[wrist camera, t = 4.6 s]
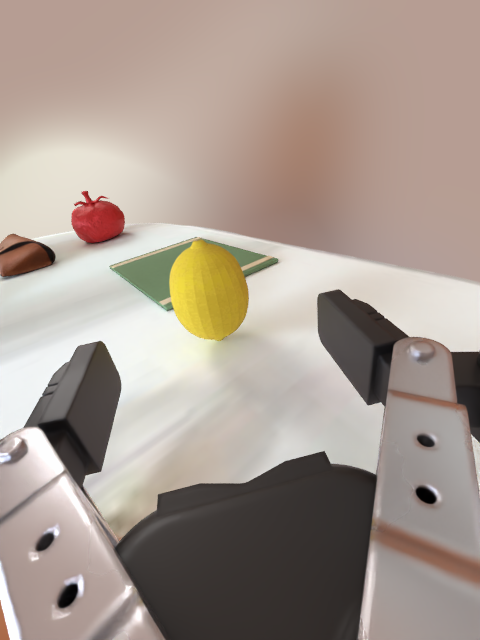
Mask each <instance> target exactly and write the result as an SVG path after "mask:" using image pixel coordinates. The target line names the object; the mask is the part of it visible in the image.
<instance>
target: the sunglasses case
mask: <svg viewBox="0 0 480 640" xmlns="http://www.w3.org/2000/svg"><path fill="white" fill-rule="evenodd" d="M54 261H55V254H54V252H53V251H52V249H50V248H49V247H48V246H46V245H44V244H42V243H40V242H36V241H34V240H31V239H28V238H24V237H20V236H18V235H16V234H10V235H8V236H7V237H6V238H5V239H4V240H3V241H2V242H1V244H0V274H1V276H2V277H6V276H13V275H18V274H23V273H28V272H31V271H34V270H37V269H40V268H43V267H46V266H49V265H51V264H52V263H53V262H54Z"/></svg>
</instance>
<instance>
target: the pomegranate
mask: <svg viewBox="0 0 480 640" xmlns="http://www.w3.org/2000/svg"><path fill="white" fill-rule="evenodd" d="M82 194H83V195H84V197H85V198H86V203H85V202H81V201H80V202H77V203H76V204H74V205H75V206H76V205H78V204H83V206H80V207H77V208H76V209H74V211H73V213H72V226H73V229H74V230H75V232H76V234H77V235H78V237H79V238H80V239H82V240H84V241H85V242H88V243H95V242H102V241H105V240H108V239H111V238H113V237H115V236H117V235H119V234H120V233H121V232H122V231H123V229H124V224H125V221H124V214H123V212H122V211H121V210H120V209H119V208H118V206H116V205H114V204H112V203H110V202H107V201H99V199H100V198H106V197H104V196H100V197H98V198H97V199H96V200H95V201H92V200H91V198H90V197H89V195H88V191H83V192H82Z"/></svg>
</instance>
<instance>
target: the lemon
mask: <svg viewBox="0 0 480 640" xmlns="http://www.w3.org/2000/svg"><path fill="white" fill-rule="evenodd" d="M169 284H170V296H171V302H172V306H173V309H174V311H175V314H176V316H177V318H178V319H179V321H180V322H181V324H182V325H183V326H184V327H185V328H186V329H187V330H188V331H189V332H190V333H192V334H194V335H195V336H197V337H200V338H203V339H211V340H213V339H215V340H217V341H221V340H223V339H224V338H225V337H226V336H228V335H230V334H232V333H233V332H234V331H236V330H237V329H238V328H239V326H240V325H241V323H242V322H243V320H244V318H245V316H246V313H247V308H248V299H249V297H248V288H247V283H246V280H245V277H244V274H243V272H242V269H241V267H240V265H239V263H238V261H237V260H236V258H235V257H234V256H233V255H232V254H231V253H230V252H228V251H227V250H225V249H224V248H222V247H220V246H218V245H214V244H209V243H206V242H205V241H204V240H201V239H200V240H195V241H193V243H192V245H191V247H189V248H187V249H186V250H184V251H183V252H182V253H181V254H180V255H179V256H178V258H177V259H176V260H175V262H174V264H173V266H172V269H171V272H170V281H169Z"/></svg>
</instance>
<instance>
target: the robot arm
mask: <svg viewBox="0 0 480 640" xmlns="http://www.w3.org/2000/svg"><path fill="white" fill-rule="evenodd" d="M317 305H318V333H319V337H320V340H321V342H322V344H323V346H324V347H325V348H326V350H327V351H328V352H329V354H330V355H331V356H332V358H333V359H334V360H335V362H336V363H337V364H338V366H339V367H340V369H341V370H342V371H343V373H344V374H345V375H346V377H347V378H348V379H349V381H350V382H351V383H352V385H353V386H354V387H355V389H356V390H357V391H358V393H359V394H360V395H361V397H362V398H363V399H364V401H365V402H366V404H367V405H372V404H375V403H379V402H381V403H382V404H383V405H384V406H385V409H384V416H383V424H382V432H381V439H380V447H379V455H378V462H377V469H376V475H375V474H373V473H371V472H368V471H366V470H363V469H360V468H356V467H352V466H348V465H340V464H330V461H329V459H328V457H327V455H326V453H325V451H323V452H319V453H315V454H311V455H308V456H304V457H300V458H296V459H292V460H289V461H285V462H283V463H281V464H279V465H278V466H276V467H274V468H272V469H270V470H269V471H267V472H265V473H263V474H261V475H260V476H258V477H256V478H254V479H253V480H251V481H249V482H246V483H241V484H197V485H193V486H189V487H185V488H181V489H178V490H174V491H170V492H166V493H162V494H158V503H157V511H155V512H153V513H151V514H150V515H148V516H147V517H146V518H144V519H143V520H141V521H140V522H139V523H138V524H137V525H135V526H134V527H133V528H132V529H131V530H130V531H129V532H128V533H127V534H126V535H125V536H124V537H123V538H122V539H121V540H120V541H119V540H118V538H117V537H116V535H115V534H114V532H113V531H112V529H111V528H110V526H109V525H108V523H107V522H106V520H105V519H104V517H103V515H102V514H101V512H100V511H99V509H98V508H97V506H96V505H95V503H94V501H93V500H92V498H91V497H90V495H89V494H88V492H87V490H86V489H85V488H84V486H83V482H84V479H85V475H89V474H93V473H97V472H101V470H102V466H103V462H104V458H105V453H106V449H107V445H108V441H109V437H110V433H111V429H112V425H113V421H114V417H115V413H116V409H117V405H118V401H119V397H120V393H121V380H120V376H119V373H118V371H117V369H116V367H115V365H114V363H113V361H112V358H111V356H110V354H109V352H108V350H107V348H106V346H105V344H104V343H103V342H102V341H99V342H94V343H89V344H85V345H80V346H78V347H77V348H76V350H75V352H74V354H73V356H72V358H71V360H70V362H67V363H65V364H64V365H63V366H62V367H61V368H60V369H59V370H58V371H56V372H55V373H54V375H53V377H52V378H51V380H50V382H49V384H48V387H46V389H45V391H44V392H43V394H42V395H43V397H41V398H40V399H39V401H38V403H37V405H36V406H35V408H34V410H33V412H32V414H31V415H30V417H29V419H28V421H27V422H26V424H25V426H24V428H23V429H20V430H17V431H15V432H13V433H11V434H9V435H7V436H6V437H4V438H3V439H1V440H0V598H1V602H2V607H3V611H4V615H5V618H6V623H7V627H8V631H9V634H10V638H11V640H480V495H479V488H478V481H477V474H476V467H475V460H474V453H473V446H472V440H471V434H472V435H473V436H474V437H475V438H476V439H477V440H478V442H479V443H480V351H479V352H450V351H449V350H448V349H447V348H446V347H445V346H444V345H442V344H441V343H439V342H436V341H434V340H431V339H427V338H421V337H409V336H407V335H406V334H405V333H404V332H402V331H401V330H400V329H399V328H398V327H396V326H395V325H394V324H393V323H391V322H390V321H389V320H388V319H385V318H384V316H383V315H381V314H380V313H377V311H376V310H375V309H374V308H373V307H371V306H370V305H369V304H367V303H364V302H362V301H359V300H357V299H354V300H351V299H350V298H349V297H348V296H347V295H346V294H344V293H343V292H342V291H341V290H334V291H330V292H325V293H321V294H319V295H318V299H317Z"/></svg>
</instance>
